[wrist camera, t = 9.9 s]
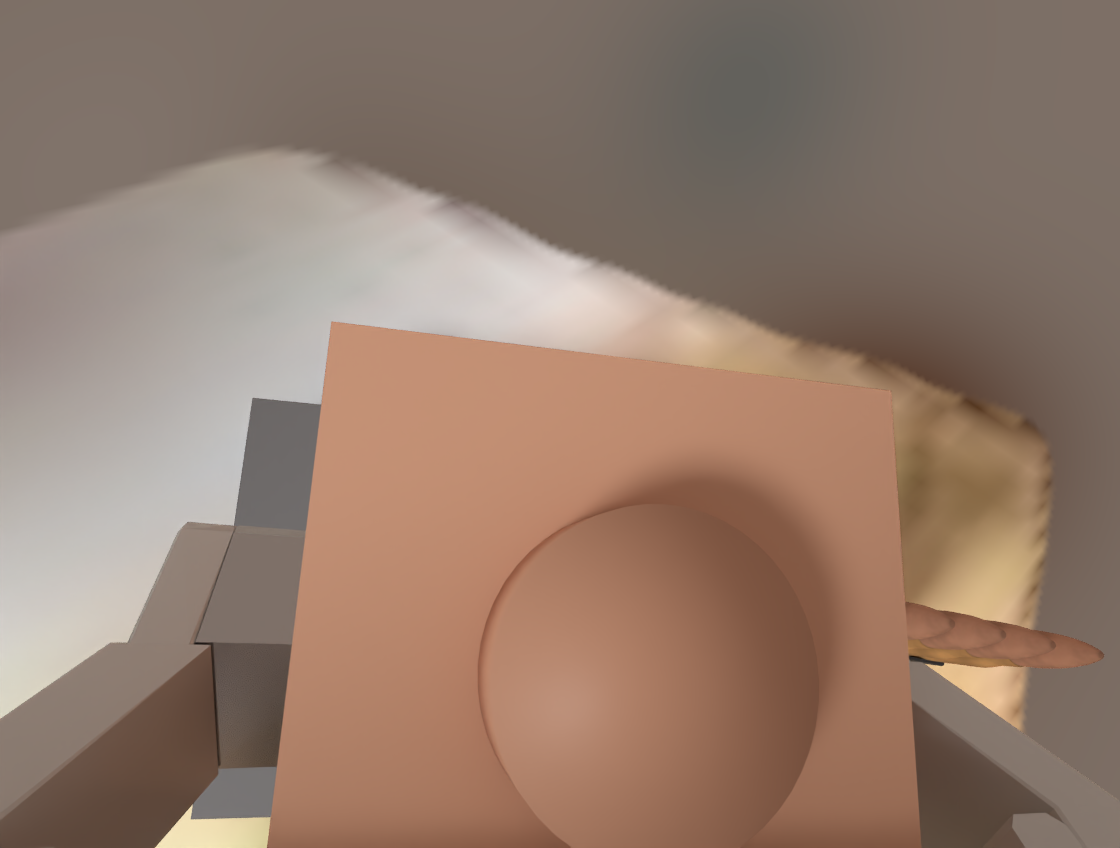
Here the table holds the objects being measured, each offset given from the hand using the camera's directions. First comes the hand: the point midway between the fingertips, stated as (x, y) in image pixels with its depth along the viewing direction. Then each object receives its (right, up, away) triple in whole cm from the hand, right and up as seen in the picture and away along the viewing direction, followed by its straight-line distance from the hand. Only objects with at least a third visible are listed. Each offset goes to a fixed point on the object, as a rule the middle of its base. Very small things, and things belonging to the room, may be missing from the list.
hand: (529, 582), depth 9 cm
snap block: (-1, -1, +4) cm, 4 cm away
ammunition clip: (+9, -6, +23) cm, 26 cm away
